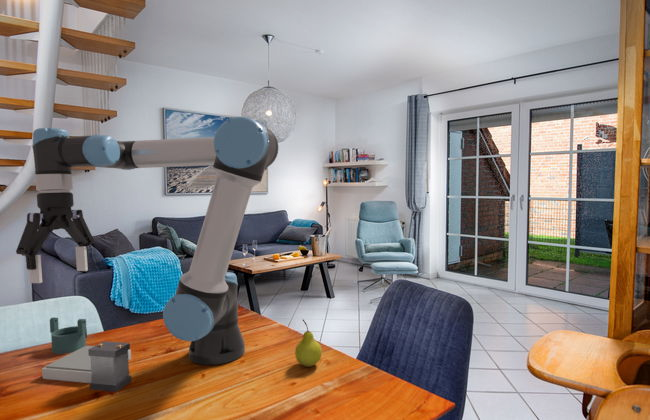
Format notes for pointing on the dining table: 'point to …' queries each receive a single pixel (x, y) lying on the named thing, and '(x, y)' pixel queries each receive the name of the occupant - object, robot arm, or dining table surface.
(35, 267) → the robot arm
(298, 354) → the fruit
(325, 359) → the dining table surface
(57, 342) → the bracket
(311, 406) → the dining table surface
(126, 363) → the housing
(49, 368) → the stand
